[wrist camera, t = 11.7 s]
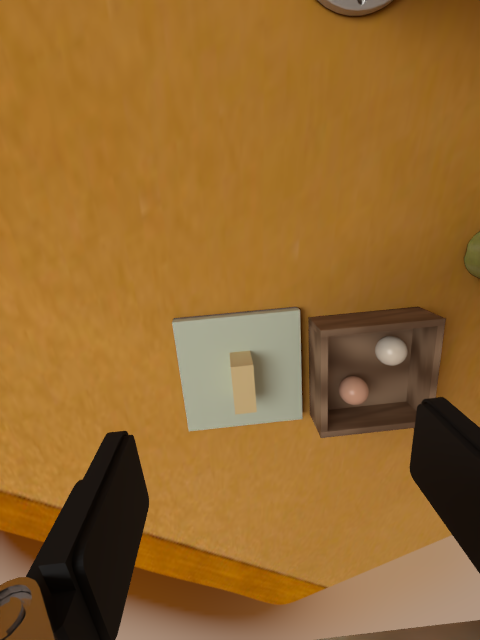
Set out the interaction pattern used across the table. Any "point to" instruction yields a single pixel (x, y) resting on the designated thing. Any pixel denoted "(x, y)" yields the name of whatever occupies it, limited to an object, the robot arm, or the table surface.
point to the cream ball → (391, 350)
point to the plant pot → (473, 256)
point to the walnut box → (372, 369)
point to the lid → (240, 368)
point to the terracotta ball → (353, 390)
